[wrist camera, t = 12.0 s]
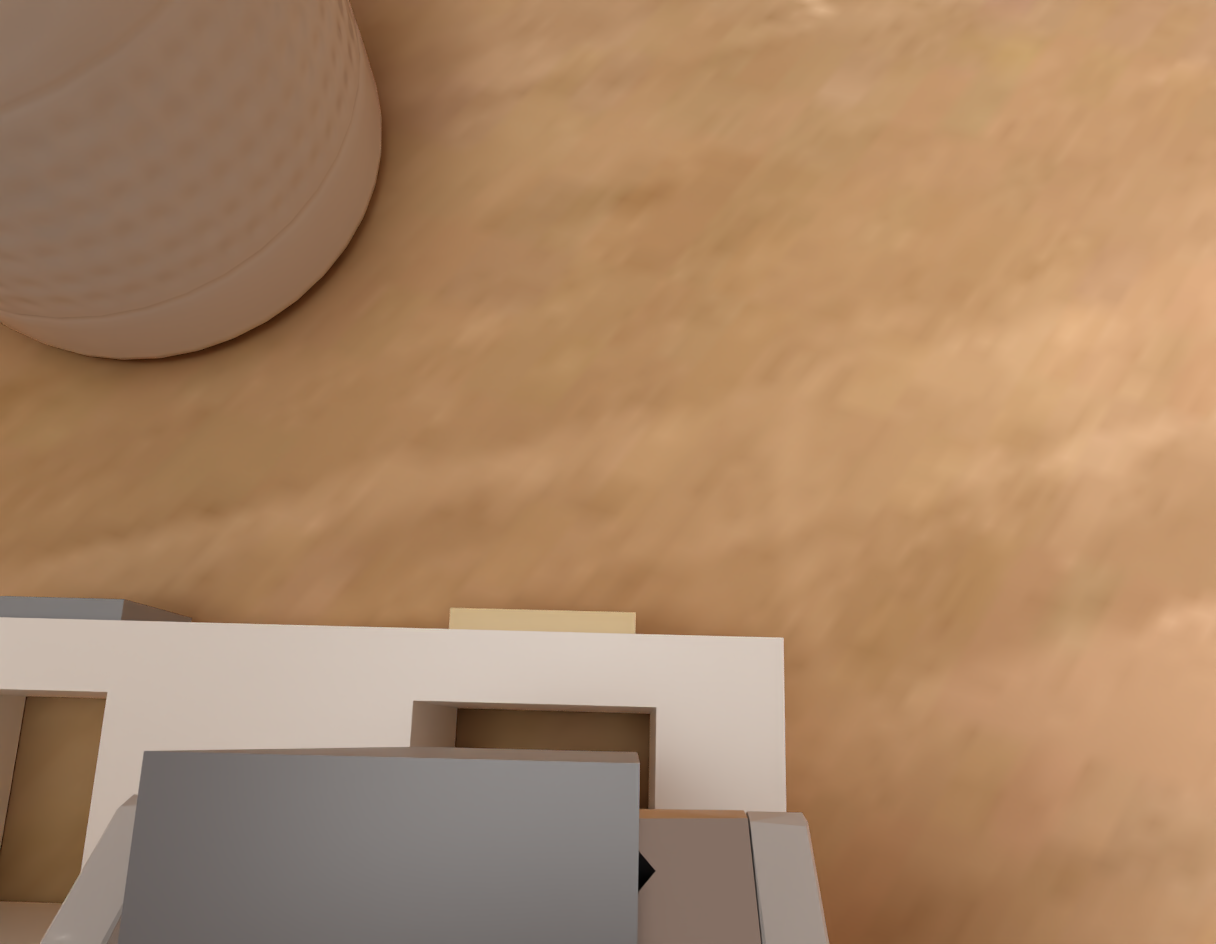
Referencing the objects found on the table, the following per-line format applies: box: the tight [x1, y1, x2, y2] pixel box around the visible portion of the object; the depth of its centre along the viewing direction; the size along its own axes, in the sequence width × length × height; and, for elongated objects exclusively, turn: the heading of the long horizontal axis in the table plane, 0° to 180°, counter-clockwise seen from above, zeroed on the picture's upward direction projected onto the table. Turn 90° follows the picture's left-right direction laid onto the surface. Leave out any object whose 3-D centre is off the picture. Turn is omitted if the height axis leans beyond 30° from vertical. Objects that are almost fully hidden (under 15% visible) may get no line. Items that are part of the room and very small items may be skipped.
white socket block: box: [0, 596, 786, 944], centre depth 20 cm, size 19×8×5 cm, turn 88°
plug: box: [118, 747, 640, 944], centre depth 10 cm, size 3×3×8 cm
